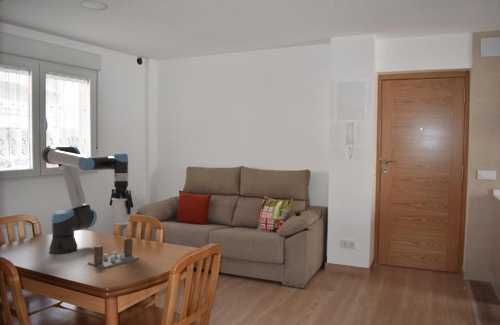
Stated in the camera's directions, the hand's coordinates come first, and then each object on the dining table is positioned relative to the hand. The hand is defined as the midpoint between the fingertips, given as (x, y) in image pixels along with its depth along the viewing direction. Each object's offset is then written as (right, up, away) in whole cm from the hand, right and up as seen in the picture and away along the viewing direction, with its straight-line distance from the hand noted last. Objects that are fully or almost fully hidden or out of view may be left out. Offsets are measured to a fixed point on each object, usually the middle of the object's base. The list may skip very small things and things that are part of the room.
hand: (121, 218), depth 238 cm
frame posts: (+1, -20, -17) cm, 26 cm away
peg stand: (+1, -20, -17) cm, 26 cm away
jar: (0, -3, 0) cm, 3 cm away
